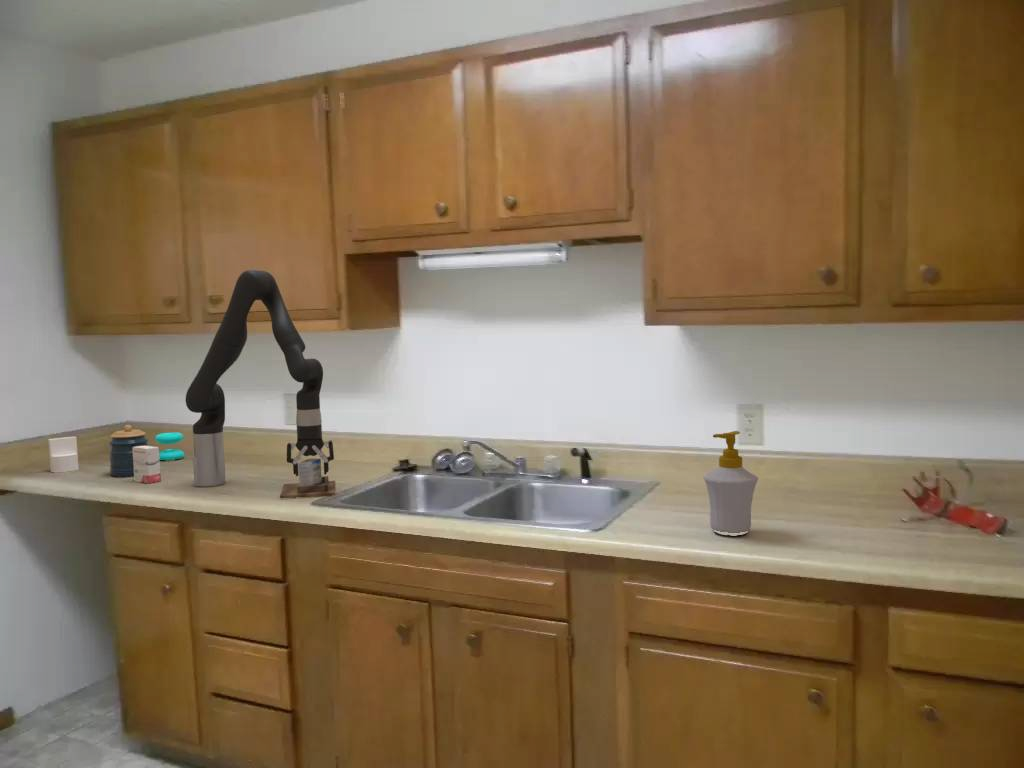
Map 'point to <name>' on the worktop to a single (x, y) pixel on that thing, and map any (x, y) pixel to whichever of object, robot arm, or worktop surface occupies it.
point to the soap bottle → (730, 490)
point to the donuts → (170, 439)
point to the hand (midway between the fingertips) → (311, 474)
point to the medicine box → (310, 472)
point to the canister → (125, 450)
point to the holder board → (308, 489)
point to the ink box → (146, 464)
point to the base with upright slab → (63, 454)
